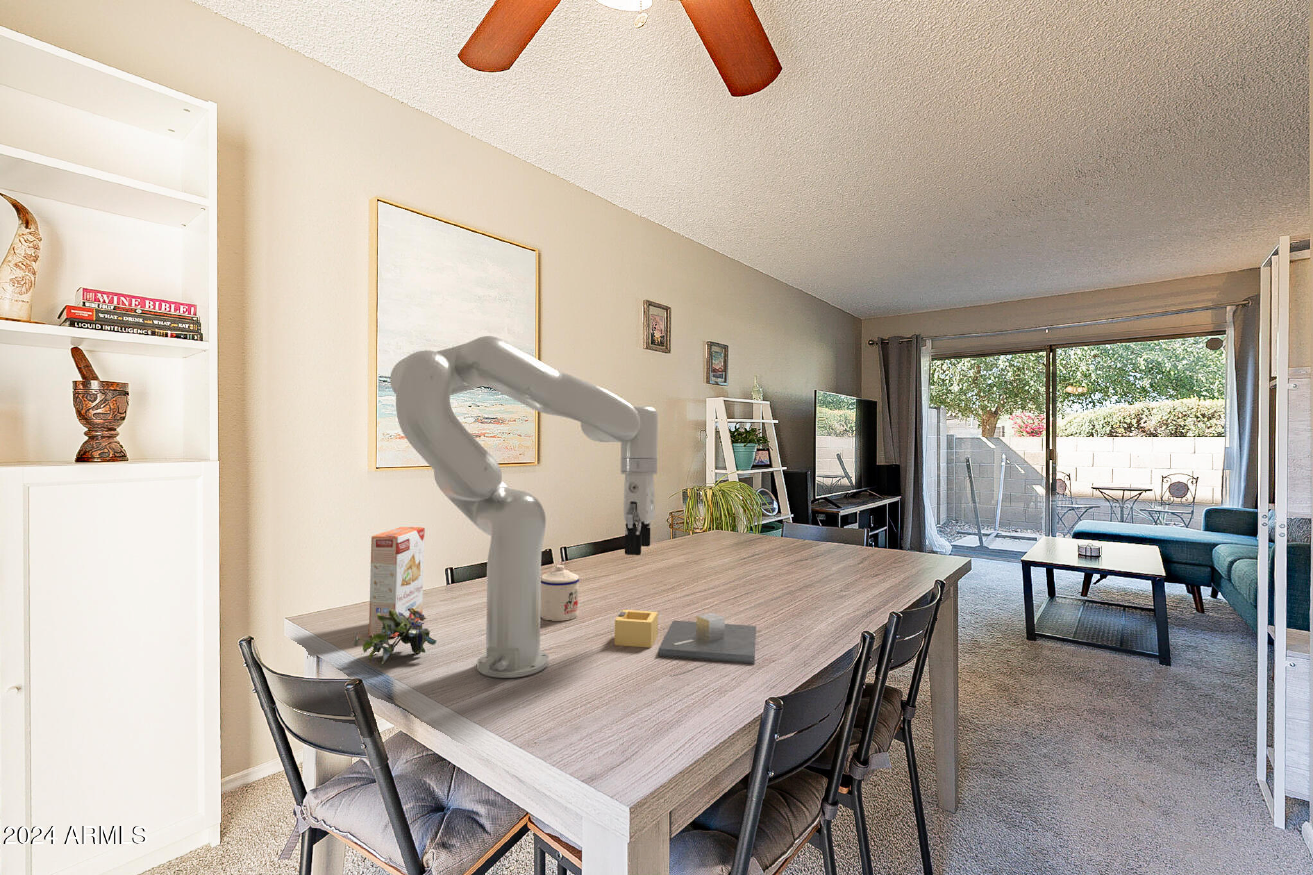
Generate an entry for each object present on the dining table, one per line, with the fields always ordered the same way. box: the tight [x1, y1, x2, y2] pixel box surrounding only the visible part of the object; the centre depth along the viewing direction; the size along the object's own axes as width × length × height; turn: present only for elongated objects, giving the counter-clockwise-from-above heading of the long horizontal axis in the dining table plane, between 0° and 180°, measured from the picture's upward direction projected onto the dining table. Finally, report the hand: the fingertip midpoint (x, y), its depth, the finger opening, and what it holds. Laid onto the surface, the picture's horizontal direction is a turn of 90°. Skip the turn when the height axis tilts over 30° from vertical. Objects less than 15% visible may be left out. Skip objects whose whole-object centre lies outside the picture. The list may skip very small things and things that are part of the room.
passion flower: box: [353, 608, 437, 666], centre depth 111 cm, size 11×11×12 cm
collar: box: [614, 609, 659, 649], centre depth 123 cm, size 7×7×5 cm
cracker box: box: [368, 526, 426, 638], centre depth 129 cm, size 14×6×21 cm, turn 179°
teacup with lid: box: [540, 564, 580, 622], centre depth 141 cm, size 12×9×12 cm
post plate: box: [658, 612, 757, 665], centre depth 121 cm, size 18×18×6 cm
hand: (637, 550), depth 123 cm, fingers open, 9 cm apart
